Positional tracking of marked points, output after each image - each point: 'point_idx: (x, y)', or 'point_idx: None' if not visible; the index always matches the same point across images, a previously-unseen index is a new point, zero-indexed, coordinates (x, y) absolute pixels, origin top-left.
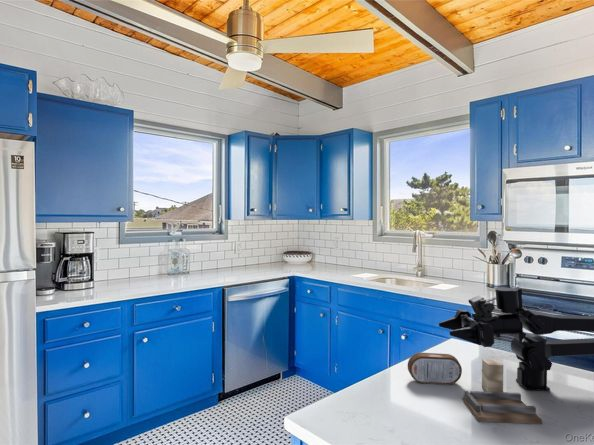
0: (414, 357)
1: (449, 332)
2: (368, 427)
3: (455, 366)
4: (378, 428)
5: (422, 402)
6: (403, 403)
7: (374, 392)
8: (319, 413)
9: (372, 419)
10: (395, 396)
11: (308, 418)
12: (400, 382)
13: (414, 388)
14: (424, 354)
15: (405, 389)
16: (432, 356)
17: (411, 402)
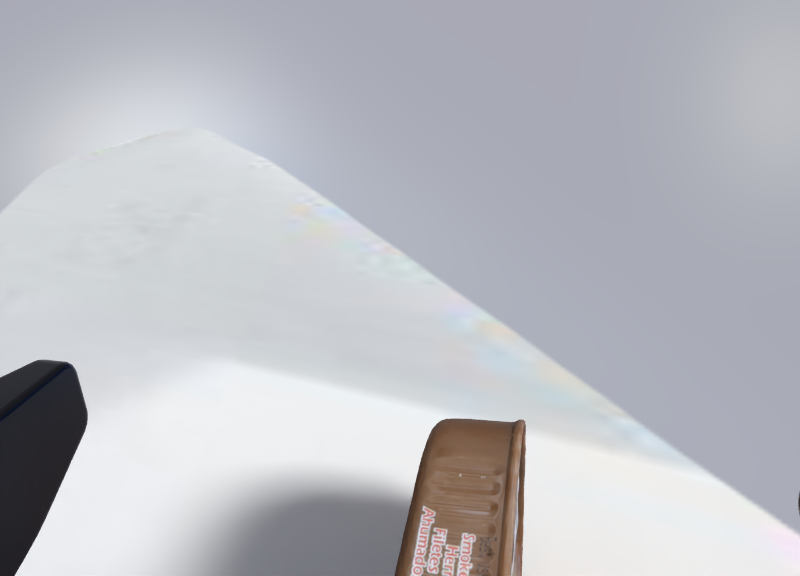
0: (473, 421)
1: (70, 374)
2: (43, 251)
3: None
4: (16, 274)
5: (137, 506)
6: (169, 405)
7: (333, 320)
8: (206, 165)
9: (89, 270)
10: (263, 392)
11: (185, 146)
12: None
13: (351, 530)
14: (478, 487)
15: (344, 469)
16: (418, 555)
17: (164, 446)
